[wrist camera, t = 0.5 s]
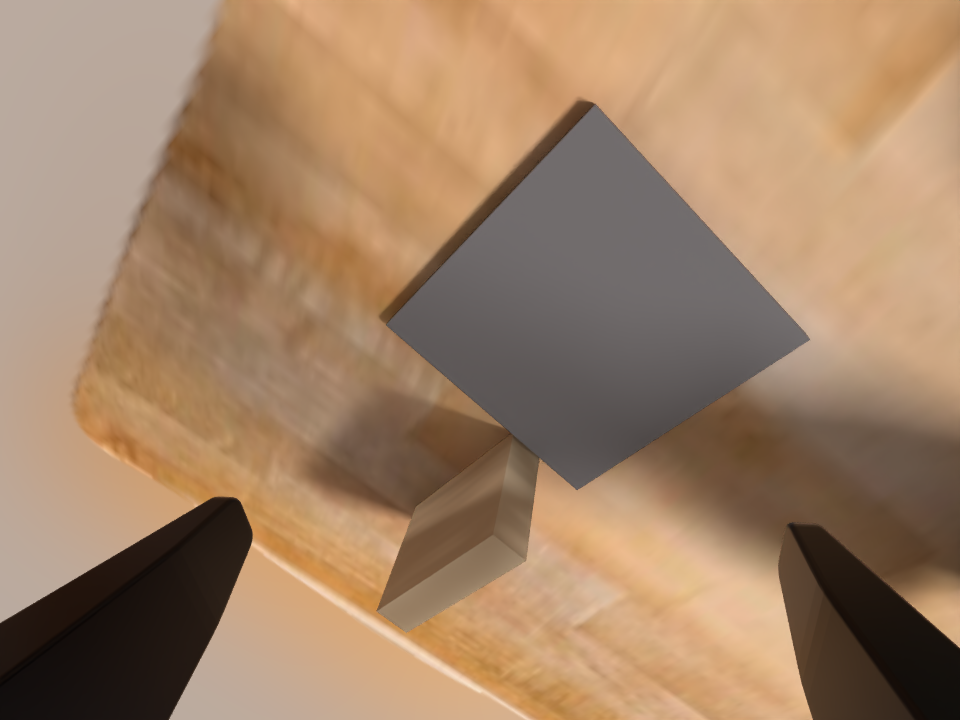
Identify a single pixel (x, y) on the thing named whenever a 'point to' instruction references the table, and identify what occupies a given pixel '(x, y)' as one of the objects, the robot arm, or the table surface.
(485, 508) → the picture frame
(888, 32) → the table surface
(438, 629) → the table surface
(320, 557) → the table surface
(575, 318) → the mat
